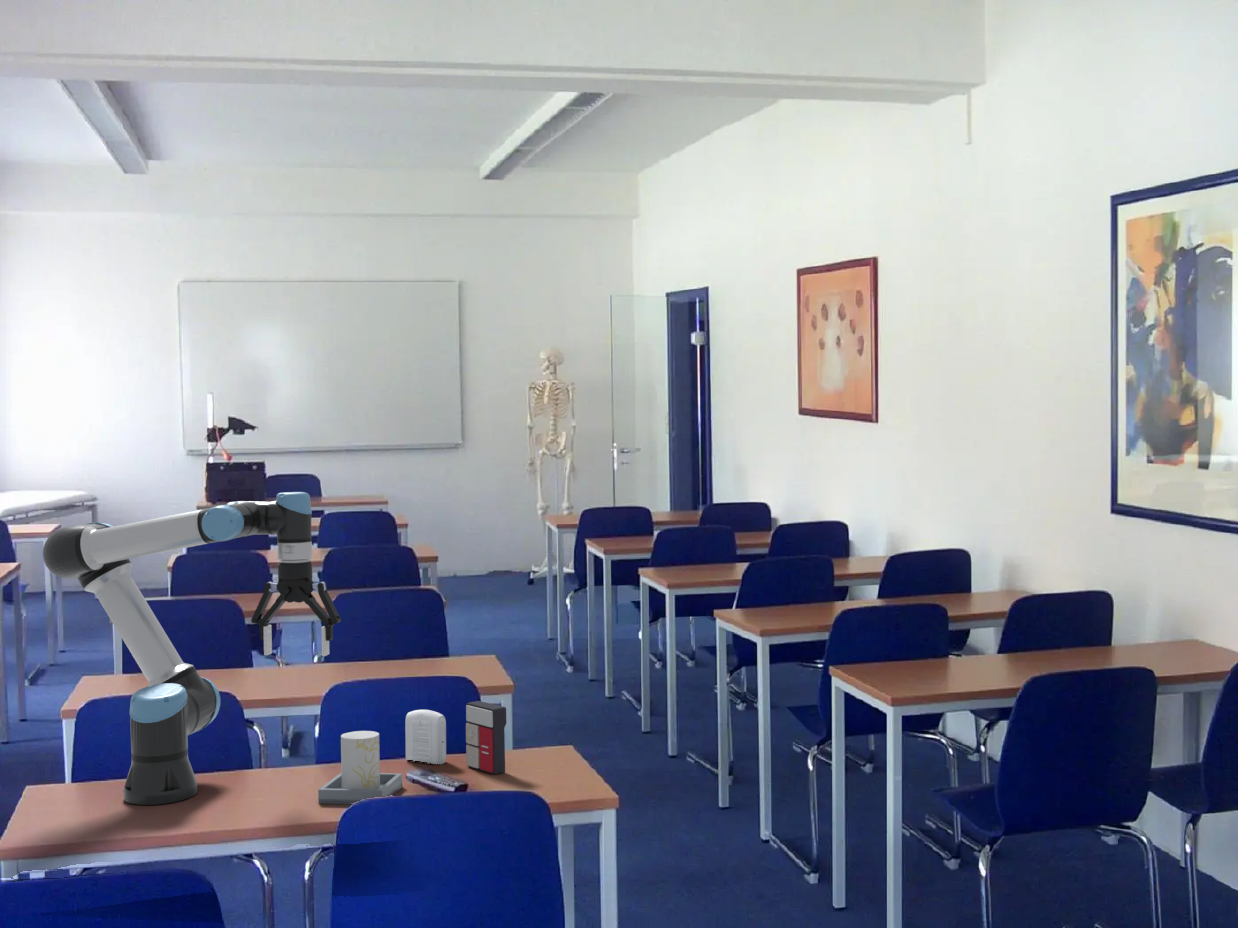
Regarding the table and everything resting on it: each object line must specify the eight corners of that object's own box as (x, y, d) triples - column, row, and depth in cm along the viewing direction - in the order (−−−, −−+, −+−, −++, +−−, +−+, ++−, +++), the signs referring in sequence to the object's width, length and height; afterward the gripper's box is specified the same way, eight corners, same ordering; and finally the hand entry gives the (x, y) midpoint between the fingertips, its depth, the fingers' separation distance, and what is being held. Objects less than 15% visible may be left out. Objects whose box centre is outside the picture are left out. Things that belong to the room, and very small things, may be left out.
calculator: (464, 766, 304) (463, 703, 303) (479, 763, 306) (478, 700, 306) (492, 775, 295) (491, 709, 295) (507, 771, 298) (506, 707, 298)
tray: (318, 803, 275) (318, 789, 275) (341, 785, 289) (341, 772, 289) (382, 804, 273) (382, 790, 273) (402, 786, 287) (402, 773, 287)
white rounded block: (449, 761, 309) (448, 709, 308) (439, 765, 305) (438, 713, 305) (413, 757, 313) (412, 706, 313) (403, 761, 309) (401, 710, 309)
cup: (358, 797, 275) (357, 740, 275) (333, 791, 280) (333, 735, 280) (387, 788, 282) (386, 733, 282) (363, 783, 287) (362, 729, 287)
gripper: (235, 562, 290) (237, 656, 291) (342, 562, 287) (344, 658, 287) (249, 559, 297) (251, 651, 298) (353, 559, 294) (355, 652, 295)
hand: (296, 654), depth 293 cm, fingers open, 13 cm apart
